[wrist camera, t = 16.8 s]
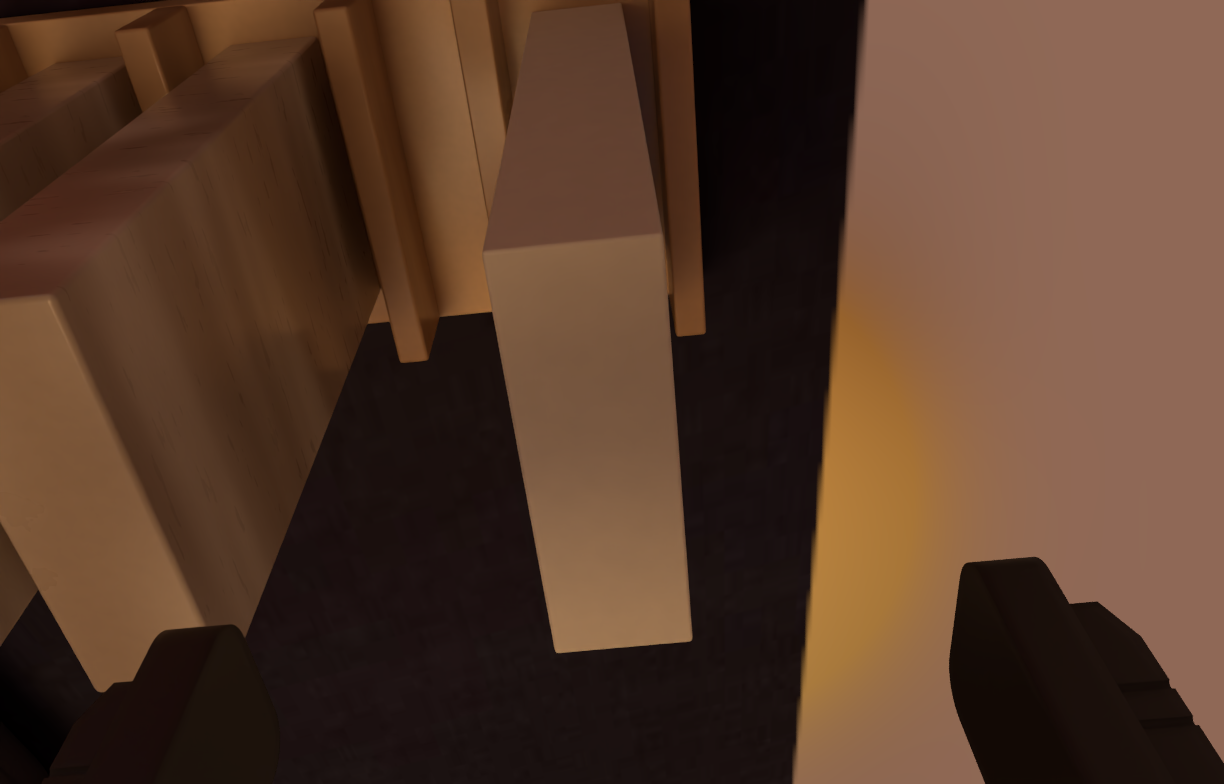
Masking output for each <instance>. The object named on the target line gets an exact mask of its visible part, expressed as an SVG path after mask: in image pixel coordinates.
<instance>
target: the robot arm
mask: <svg viewBox="0 0 1224 784" xmlns="http://www.w3.org/2000/svg"><path fill="white" fill-rule="evenodd" d="M949 673H950V683H951V689H952V695H953V699H954V703H955V707H956V710H957V713H958V716H959V719H960V722H961V724H962V727H963V729H964V732H965V734H966V736H967V739H968V742H969V744H970V747H971V749H972V752H973V754H974V757H975V759H976V762H977V764H978V767H979V769H980V772H981V774H982V776H983V779H984V782H985V784H1224V763H1223V762H1222V760H1221V758H1220V757H1219V755H1218V754H1217V752H1216V751H1215V749H1214V748H1213V746H1212V744H1211V743H1210V741H1209V740H1208V738H1207V737H1206V735H1205V734H1204V732H1203V731H1202V729H1201V728H1200V726H1199V725H1195V724H1194V722H1193V715H1192V714H1191V712H1190V711H1189V709H1188V708H1187V706H1186V705H1185V703H1184V702H1183V700H1182V698H1181V697H1180V695H1179V694H1178V692H1177V691H1176V689H1172V688H1171V687H1170V684H1169V678H1168V677H1167V675H1166V674H1165V672H1164V671H1163V669H1162V668H1161V666H1160V665H1159V663H1158V662H1157V660H1156V659H1155V657H1154V655H1153V654H1152V652H1151V651H1150V650H1149V648H1148V647H1147V645H1146V643H1145V642H1144V640H1143V639H1142V637H1141V636H1140V635H1138V634H1137V633H1136V632H1135V631H1133V630H1132V629H1131V628H1130V627H1128V626H1127V625H1126V624H1125V623H1123V622H1122V621H1121V620H1120V619H1118V618H1117V617H1116V616H1115V615H1113V614H1112V613H1111V612H1110V611H1108V610H1107V609H1106V608H1105V607H1103V606H1102V605H1101V604H1100V603H1098V602H1086V603H1075V604H1069V602H1068V601H1067V599H1066V597H1065V595H1064V594H1063V592H1062V590H1061V589H1060V587H1059V585H1058V584H1057V582H1056V580H1055V578H1054V577H1053V575H1052V573H1051V572H1050V570H1049V569H1048V567H1047V566H1046V564H1045V563H1044V562H1043V561H1042V560H1041V559H1039V558H1037V557H1028V558H1016V559H1005V560H994V561H981V562H970V563H966V564H965V565H964V566H963V568H962V571H961V575H960V581H959V589H958V597H957V604H956V611H955V620H954V627H953V635H952V642H951V649H950V658H949ZM279 751H280V730H279V722H278V718H277V714H276V711H275V708H274V706H273V704H272V701H271V699H270V697H269V694H268V692H267V689H266V687H265V685H264V682H263V680H262V678H261V675H260V673H259V671H258V668H257V666H256V663H255V661H254V659H253V656H252V654H251V652H250V649H249V647H248V645H247V642H246V640H245V637H244V635H243V633H242V632H241V630H240V629H239V628H238V627H237V626H236V625H233V624H227V625H215V626H204V627H192V628H181V629H169V630H164V631H162V632H161V633H159V634H158V635H157V636H156V638H155V639H154V641H153V642H152V644H151V646H150V648H149V650H148V652H147V654H146V656H145V658H144V660H143V662H142V664H141V666H140V667H139V669H138V671H137V673H136V675H135V677H134V679H133V681H128V682H116V683H113V684H112V685H111V686H110V687H109V688H108V689H107V690H106V691H105V692H104V693H103V694H102V695H101V696H100V697H99V699H98V700H97V701H96V702H95V703H94V704H93V705H92V706H91V707H90V708H89V709H88V710H87V711H86V712H85V713H84V714H83V715H82V716H81V717H80V718H79V719H78V720H77V721H76V722H75V723H74V725H73V726H72V728H71V730H70V732H69V734H68V736H67V737H66V739H65V741H64V743H63V745H62V747H61V748H60V750H59V752H58V754H57V756H56V758H55V759H54V761H53V763H52V765H51V767H50V769H49V770H50V775H49V778H44V780H43V781H42V783H41V784H272V782H273V779H274V776H275V772H276V769H277V764H278V759H279Z"/></svg>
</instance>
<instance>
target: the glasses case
mask: <svg viewBox="0 0 1224 784" xmlns="http://www.w3.org/2000/svg"><path fill="white" fill-rule="evenodd" d="M44 778H49V776H48V774H47V772H46V770H45V769H44V767H43V766H42V764H41V763H40V762H39V761H38V760H37V758H36V757H35V756H34V755H33V754H32V753H31V752H30V751H29V750H28V749H27V748H26V747H25V746H24V745H23V744H22V743H21V742H20V741H19V740H18V739H17V738H16V737H15V735H14V734H13V733H12V732H11V731H10V730H9V729H8V728H7V727H6V726H5V725H4V724H3V723H2V722H1V721H0V784H41V783H42V781H43V780H44Z"/></svg>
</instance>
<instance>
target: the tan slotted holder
mask: <svg viewBox="0 0 1224 784" xmlns="http://www.w3.org/2000/svg"><path fill="white" fill-rule="evenodd" d="M614 3H621V4H622V9H623V15H624V20H625V26H626V31H627V37H628V42H629V48H630V54H631V59H632V65H633V70H634V76H635V81H636V87H637V93H638V98H639V104H640V109H641V115H642V120H643V126H644V132H645V137H646V143H647V148H648V154H649V159H650V165H651V171H652V176H653V182H654V187H655V193H656V198H657V204H658V210H659V215H660V221H661V226H662V232H663V239H664V253H665V267H666V280H667V294H669V297H670V303H671V309H672V315H673V321H674V327H675V332H676V335H677V336H688V335H698V334H704V333H705V331H706V324H705V303H704V282H703V262H702V241H701V220H700V200H699V179H698V158H697V138H696V117H695V96H694V76H693V55H692V34H691V14H690V0H166V1H156V2H147V3H138V4H129V5H119V6H110V7H101V8H92V9H82V10H73V11H64V12H54V13H45V14H36V15H27V16H17V17H8V18H0V646H1V645H2V643H3V642H4V640H5V639H6V637H7V636H8V634H9V633H10V631H11V630H12V628H13V627H14V625H15V624H16V622H17V621H18V619H19V618H20V616H21V615H22V613H23V612H24V610H25V609H26V607H27V606H28V604H29V603H30V601H31V600H32V598H33V597H34V595H35V594H36V592H37V591H38V589H39V591H40V593H41V595H42V596H43V598H44V600H45V602H46V603H47V605H48V607H49V609H50V610H51V612H52V614H53V616H54V617H55V619H56V621H57V623H58V624H59V626H60V628H61V630H62V631H63V633H64V635H65V637H66V638H67V640H68V642H69V644H70V646H71V647H72V649H73V651H74V653H75V654H76V656H77V658H78V660H79V661H80V663H81V665H82V667H83V668H84V670H85V672H86V674H87V675H88V677H89V679H90V681H91V682H92V684H93V686H94V688H95V689H96V690H97V691H98V692H105V691H106V690H107V689H108V688H109V687H110V686H111V685H112V684H113V683H116V682H128V681H133V679H134V677H135V675H136V673H137V671H138V669H139V667H140V666H141V664H142V662H143V660H144V658H145V656H146V654H147V652H148V650H149V648H150V646H151V644H152V642H153V641H154V639H155V638H156V636H157V635H158V634H159V633H161V632H162V631H164V630H169V629H181V628H192V627H204V626H215V625H227V624H233V625H236V626H237V627H238V628H239V629H240V630H241V632H242V633H243V635H244V637H245V636H246V634H247V631H248V629H249V626H250V624H251V621H252V619H253V616H254V613H255V611H256V608H257V606H258V603H259V601H260V598H261V595H262V593H263V590H264V588H265V585H266V583H267V580H268V577H269V575H270V572H271V570H272V567H273V565H274V562H275V559H276V557H277V554H278V552H279V549H280V547H281V544H282V542H283V539H284V536H285V534H286V531H287V529H288V526H289V524H290V521H291V518H292V516H293V513H294V511H295V508H296V506H297V503H298V500H299V498H300V495H301V493H302V490H303V488H304V485H305V483H306V480H307V477H308V475H309V472H310V470H311V467H312V465H313V462H314V459H315V457H316V454H317V452H318V449H319V447H320V444H321V441H322V439H323V436H324V434H325V431H326V429H327V426H328V424H329V421H330V418H331V416H332V413H333V411H334V408H335V406H336V403H337V400H338V398H339V395H340V393H341V390H342V388H343V385H344V382H345V380H346V377H347V375H348V372H349V370H350V367H351V364H352V362H353V359H354V357H355V354H356V352H357V349H358V347H359V344H360V341H361V339H362V336H363V334H364V331H365V329H366V326H367V324H370V323H380V322H390V324H391V329H392V333H393V337H394V341H395V345H396V349H397V353H398V357H399V360H400V362H402V363H406V362H416V361H426V360H428V359H429V355H430V351H431V347H432V343H433V340H434V336H435V332H436V328H437V324H438V320H439V317H442V316H452V315H462V314H473V313H483V312H492V307H491V301H490V296H489V290H488V285H487V280H486V274H485V269H484V263H483V258H482V251H483V246H484V241H485V237H486V232H487V227H488V222H489V217H490V212H491V208H492V203H493V198H494V193H495V188H496V183H497V179H498V174H499V169H500V164H501V159H502V154H503V150H504V145H505V140H506V135H507V130H508V125H509V121H510V116H511V111H512V106H513V101H514V96H515V92H516V87H517V82H518V77H519V72H520V67H521V63H522V58H523V53H524V48H525V43H526V38H527V34H528V29H529V24H530V19H531V14H532V13H533V12H539V11H549V10H558V9H567V8H576V7H586V6H595V5H604V4H614Z"/></svg>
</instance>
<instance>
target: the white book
mask: <svg viewBox="0 0 1224 784" xmlns="http://www.w3.org/2000/svg"><path fill="white" fill-rule="evenodd" d="M482 258H483V263H484V269H485V274H486V280H487V285H488V290H489V296H490V301H491V307H492V312H493V318H494V323H495V328H496V334H497V339H498V345H499V350H500V355H501V361H502V366H503V372H504V377H505V383H506V388H507V393H508V399H509V404H510V410H511V415H512V421H513V426H514V431H515V437H516V442H517V448H518V453H519V458H520V464H521V469H522V475H523V480H524V486H525V491H526V496H527V502H528V507H529V513H530V518H531V524H532V529H533V534H534V540H535V545H536V551H537V556H538V561H539V567H540V572H541V578H542V583H543V589H544V594H545V599H546V605H547V610H548V616H549V621H550V627H551V632H552V637H553V643H554V648H555V651H556V653H564V652H575V651H586V650H598V649H609V648H620V647H632V646H643V645H654V644H666V643H677V642H688V641H691V640H692V638H693V637H692V624H691V610H690V596H689V583H688V569H687V555H686V541H685V528H684V514H683V500H682V486H681V473H680V459H679V445H678V432H677V418H676V404H675V390H674V377H673V363H672V349H671V335H670V322H669V308H668V294H667V280H666V267H665V253H664V239H663V232H662V226H661V221H660V215H659V210H658V204H657V198H656V193H655V187H654V182H653V176H652V171H651V165H650V159H649V154H648V148H647V143H646V137H645V132H644V126H643V120H642V115H641V109H640V104H639V98H638V93H637V87H636V81H635V76H634V70H633V65H632V59H631V54H630V48H629V42H628V37H627V31H626V26H625V20H624V15H623V9H622V4H621V3H614V4H604V5H595V6H586V7H576V8H567V9H558V10H549V11H539V12H533V13H532V14H531V19H530V24H529V29H528V34H527V38H526V43H525V48H524V53H523V58H522V63H521V67H520V72H519V77H518V82H517V87H516V92H515V96H514V101H513V106H512V111H511V116H510V121H509V125H508V130H507V135H506V140H505V145H504V150H503V154H502V159H501V164H500V169H499V174H498V179H497V183H496V188H495V193H494V198H493V203H492V208H491V212H490V217H489V222H488V227H487V232H486V237H485V241H484V246H483V251H482Z"/></svg>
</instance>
